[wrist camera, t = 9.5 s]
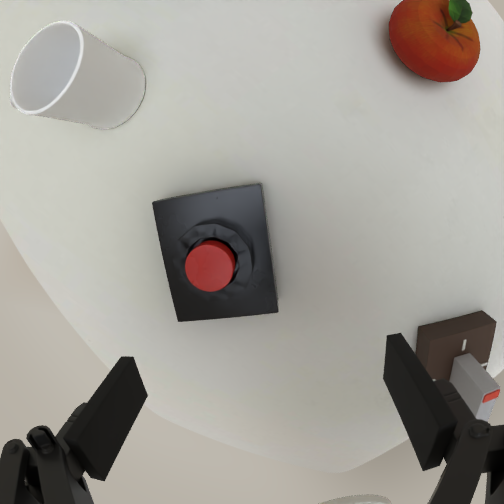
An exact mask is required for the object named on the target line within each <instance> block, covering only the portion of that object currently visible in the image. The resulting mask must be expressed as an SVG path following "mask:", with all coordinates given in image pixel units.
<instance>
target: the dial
mask: <svg viewBox="0 0 504 504" xmlns="http://www.w3.org/2000/svg"><path fill="white" fill-rule="evenodd" d="M449 382H451V383H452V384H453V385H454V387H455V388H456V389H457V392H459V394H460V395H461V398H463V400H464V401H465V402H466V404H467V405H468V407H469V408H470V410H471V411H472V413H473V414H474V416H475V417H476V419H481V420H484V421H487V422H488V419H489V417H490V414H491V412H492V409H493V406H494V404H495V401H496V398H497V397H498V395H499V392H500V386H499V385H498V384H497V383H496V382H495V380H494V379H493V378H492V377H491V376H490V375H489V374H488V372H487V371H486V370H485V369H484V368H483V367H482V366H481V365H480V363H479V362H478V361H477V360H476V359H475V358H474V357H473V356H472V355H471V354H470V353H467V354H464V355H461V356H458V357H455V358H454V362H453V367H452V371H451V376H450V381H449Z"/></svg>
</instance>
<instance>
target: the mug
mask: <svg viewBox="0 0 504 504" xmlns="http://www.w3.org/2000/svg"><path fill="white" fill-rule="evenodd" d="M145 84H146V83H145V75H144V72H143V70H142V68H141V66H140V65H139V64H138V63H137V62H136V61H135V60H133V59H131V58H129V57H126V56H124V55H122V54H121V53H119V52H118V51H116V50H115V49H113V48H112V47H110V46H109V45H107V44H106V43H104V42H103V41H101V40H100V39H98V38H97V37H95V36H94V35H92V34H91V33H89V32H87V31H86V30H84V29H83V28H81V27H80V26H78V25H76V24H75V23H73V22H70V21H56V22H53V23H51V24H48V25H46V26H45V27H43V28H42V29H40V30H39V31H38V32H37V33H35V34H34V35H33V36H32V37H31V38H30V39H29V41H28V42H27V43H26V44H25V46H24V47H23V49H22V50H21V52H20V54H19V56H18V57H17V60H16V62H15V64H14V67H13V71H12V75H11V81H10V93H11V95H10V103H11V105H12V106H13V107H14V108H16V109H18V110H19V111H21V112H22V113H25V114H29V115H35V116H42V117H48V118H54V119H60V120H66V121H72V122H77V123H82V124H87V125H90V126H91V127H94V128H96V129H111V128H114V127H117V126H119V125H121V124H123V123H124V122H126V121H127V120H128V119H129V118H130V117H131V116H132V115H133V114H134V113H135V112H136V110H137V109H138V107H139V105H140V103H141V101H142V99H143V96H144V92H145Z"/></svg>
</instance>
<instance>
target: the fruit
mask: <svg viewBox="0 0 504 504" xmlns="http://www.w3.org/2000/svg"><path fill="white" fill-rule="evenodd" d="M471 16H472V11H471V7H470V4H469V3H468V2H467V1H466V0H403V1H402V2H401V3H399V4H398V5H397V6H396V7H395V8H394V10H393V13H392V15H391V18H390V21H389V35H390V41H391V43H392V46H393V49H394V51H395V53H396V54H397V55H398V57H399V58H400V60H401V61H402V62H403V63H404V64H405V65H406V66H407V67H408V68H409V69H410V70H411V71H413V72H415V73H416V74H418V75H420V76H421V77H424V78H427V79H431V80H434V81H437V82H452V81H457V80H459V79H461V78H463V77H465V76H466V75H468V74H469V73H470V72H471V71H472V70H473V68H474V67H475V65H476V63H477V61H478V59H479V54H480V41H479V35H478V32H477V29H476V27H475V25H474V23H473V21H472V20H471Z"/></svg>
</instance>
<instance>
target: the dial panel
mask: <svg viewBox="0 0 504 504" xmlns="http://www.w3.org/2000/svg"><path fill="white" fill-rule="evenodd" d="M495 328H496V321H495V320H494V319H492V318H491V317H490V316H489V315H487V314H486V313H485V312H484V311H479V312H476V313H472V314H468V315H464V316H461V317H457V318H453V319H449V320H445V321H441V322H436V323H432V324H428V325H423V326H419V327H418V338H417V347H416V356H417V357H418V359H419V360H420V362H421V363H422V365H423V366H424V368H425V369H426V371H427V372H428V374H429V375H430V377H431V378H432V380H433V381H435V380H439V379H442V378H445V379H446V380H448V381H450V376H451V371H452V367H453V362H454V358H455V357H458V356H461V355H464V354H467V353H470V354H471V355H472V356H473V357H474V358H475V359H476V360H477V361H478V362H479V363H480V365H481V366H482V367H483V368H484V369H485V370H486V367H487V364H488V359H489V355H490V351H491V347H492V342H493V338H494V333H495Z"/></svg>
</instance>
